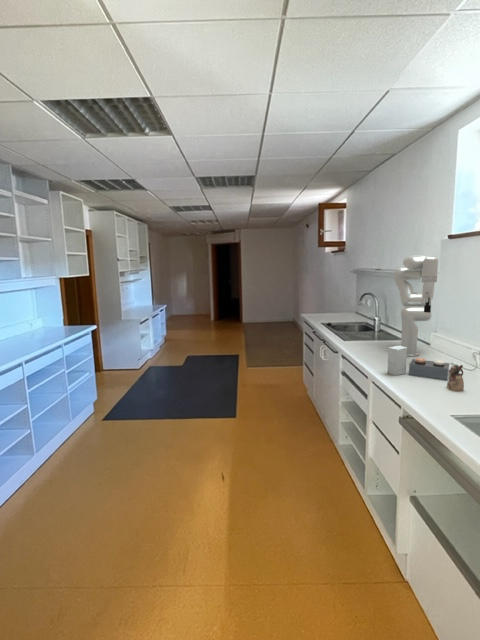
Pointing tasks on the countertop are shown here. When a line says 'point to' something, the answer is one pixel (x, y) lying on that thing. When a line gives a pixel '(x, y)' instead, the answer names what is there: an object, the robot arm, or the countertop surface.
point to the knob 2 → (439, 362)
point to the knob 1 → (420, 360)
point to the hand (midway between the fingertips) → (427, 312)
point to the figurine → (455, 378)
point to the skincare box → (397, 360)
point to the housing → (429, 370)
